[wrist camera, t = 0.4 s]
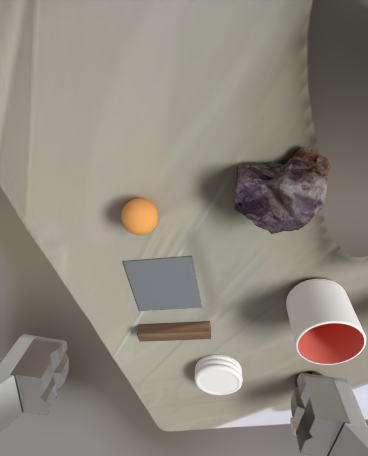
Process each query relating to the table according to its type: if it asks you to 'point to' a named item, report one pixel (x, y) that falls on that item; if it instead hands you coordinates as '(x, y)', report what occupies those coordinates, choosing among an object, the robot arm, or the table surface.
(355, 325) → the cup
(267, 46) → the table surface
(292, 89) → the table surface
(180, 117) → the table surface
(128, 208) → the ball
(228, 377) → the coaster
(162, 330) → the walnut bar
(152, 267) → the grey mark
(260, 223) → the rock
